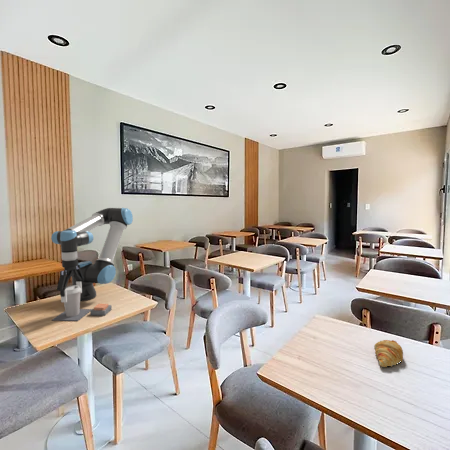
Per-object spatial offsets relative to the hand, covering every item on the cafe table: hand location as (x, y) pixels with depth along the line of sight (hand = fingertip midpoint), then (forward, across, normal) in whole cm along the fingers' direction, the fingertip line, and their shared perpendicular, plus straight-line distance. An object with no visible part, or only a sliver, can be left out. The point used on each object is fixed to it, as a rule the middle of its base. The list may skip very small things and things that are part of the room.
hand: (72, 297), depth 145 cm
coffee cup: (+10, 0, 0) cm, 10 cm away
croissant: (+10, +33, +152) cm, 156 cm away
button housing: (+10, -4, +14) cm, 18 cm away
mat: (+10, 0, 0) cm, 10 cm away
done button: (+9, -4, +14) cm, 17 cm away
